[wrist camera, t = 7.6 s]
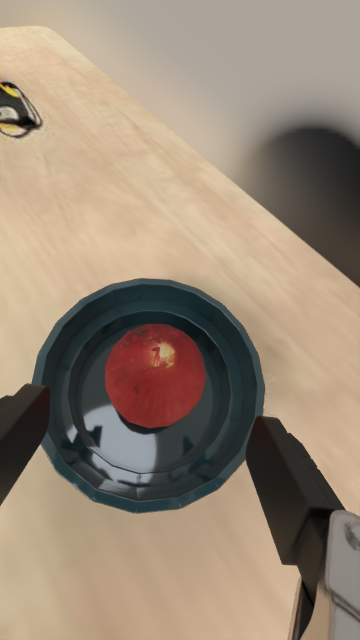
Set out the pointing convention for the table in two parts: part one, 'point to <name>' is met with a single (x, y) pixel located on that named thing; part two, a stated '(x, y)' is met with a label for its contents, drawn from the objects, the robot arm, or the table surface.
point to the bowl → (134, 440)
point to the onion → (155, 375)
